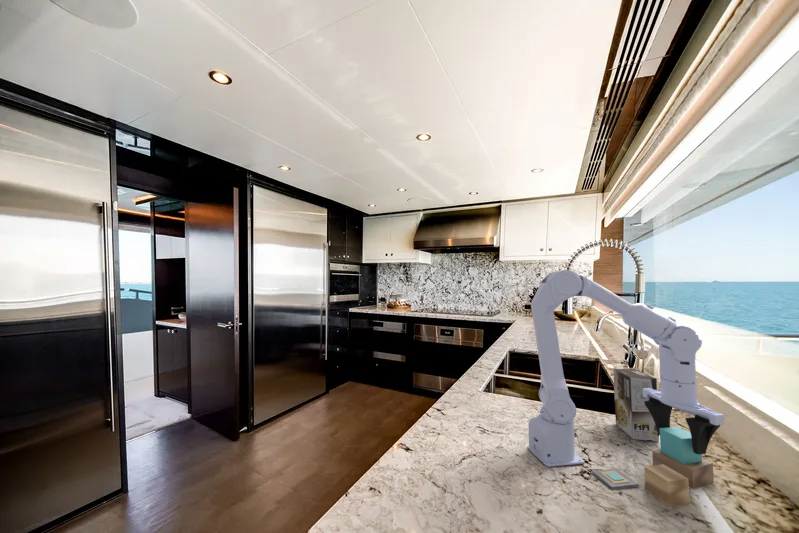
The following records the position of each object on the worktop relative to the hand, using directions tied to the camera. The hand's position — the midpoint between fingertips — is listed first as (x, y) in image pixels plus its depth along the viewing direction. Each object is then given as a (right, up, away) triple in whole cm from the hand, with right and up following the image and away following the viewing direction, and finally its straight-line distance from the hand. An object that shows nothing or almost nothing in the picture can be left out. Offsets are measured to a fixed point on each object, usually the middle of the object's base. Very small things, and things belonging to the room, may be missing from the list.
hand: (680, 443), depth 63 cm
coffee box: (+5, -8, +17) cm, 20 cm away
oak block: (-9, -6, -7) cm, 13 cm away
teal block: (0, -3, 0) cm, 3 cm away
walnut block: (0, -7, 0) cm, 7 cm away
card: (-16, -6, -2) cm, 17 cm away
